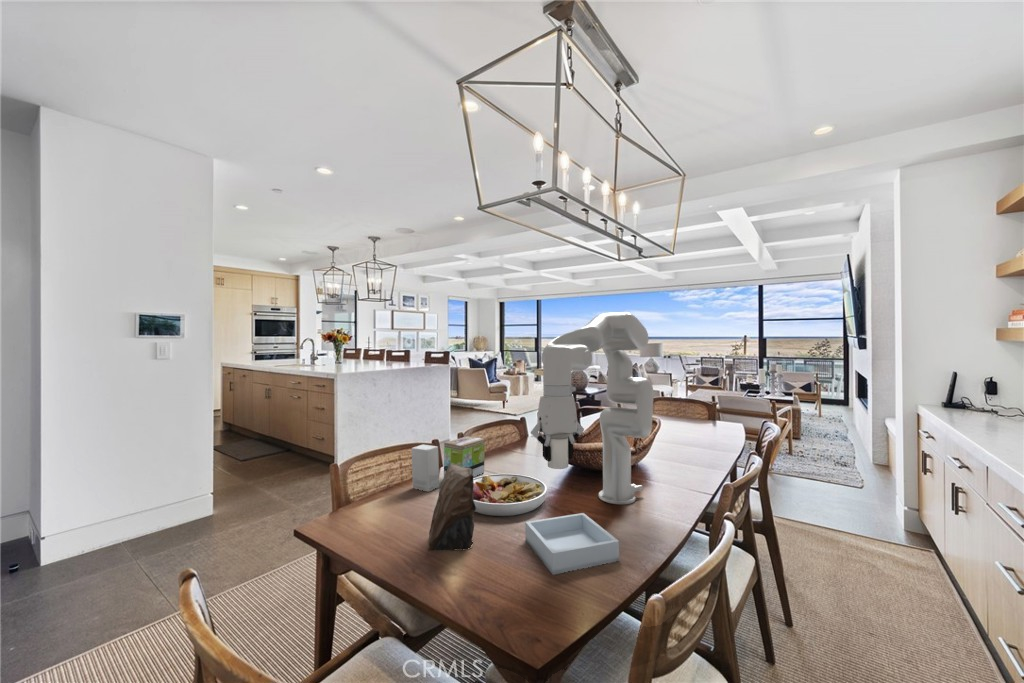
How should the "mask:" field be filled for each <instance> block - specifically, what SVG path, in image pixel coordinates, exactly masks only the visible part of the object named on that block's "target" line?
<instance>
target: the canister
mask: <svg viewBox="0 0 1024 683" xmlns="http://www.w3.org/2000/svg"><path fill="white" fill-rule="evenodd" d="M568 437H569V434H568V433H565V434H553V435H551V439H550V442H549V446H550V447H551V461H549V462H548V461H547V467H548V468H550V469H553V470H563V469H567V468H568V467H569V458H568Z"/></svg>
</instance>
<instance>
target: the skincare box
mask: <svg viewBox="0 0 1024 683" xmlns="http://www.w3.org/2000/svg"><path fill="white" fill-rule="evenodd" d="M439 463H440V462H439V446H437V445H436V446H435V445H430V444H419V445H417V446H414V447H411V470H412V472H411V473H412V489H413V488H415V489H414V490H417V489H419V491H422V490H423V491H424V492H426V491H427V492H426V493H429V492H431V490H432V491H434V490H436V489H439V488H440V469H439V468H440V467H439ZM435 488H436V489H435ZM433 489H434V490H433Z"/></svg>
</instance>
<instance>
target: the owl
mask: <svg viewBox="0 0 1024 683" xmlns="http://www.w3.org/2000/svg"><path fill="white" fill-rule="evenodd" d="M473 478H474V477H473V470H472V469H471V468H465V467H460V466H457V465H456V464H454V463H449V466H448V469H447V471H446V474H445V477H444V476H443V479H442V482H441V485H440V487H439V492H438V497H437V500H436V504H435V507H434V510H433V514H432V517H431V518H432V519H431V523H430V529H429V531H428V541H427V542H428V549H427V551H428V552H429V551H430V552H431V551H456V550H455V549H462V550H461V551H464V550H463V549H467V550H469V549H468V548H470V547H471V545H472V544H473V545H474V541H473V537H474V536H473V535H474V530H475V520H474V518H475V517H474V515H475V510H476V506H475V503H474V498H473V486H474V485H473ZM472 541H473V542H472Z"/></svg>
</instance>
